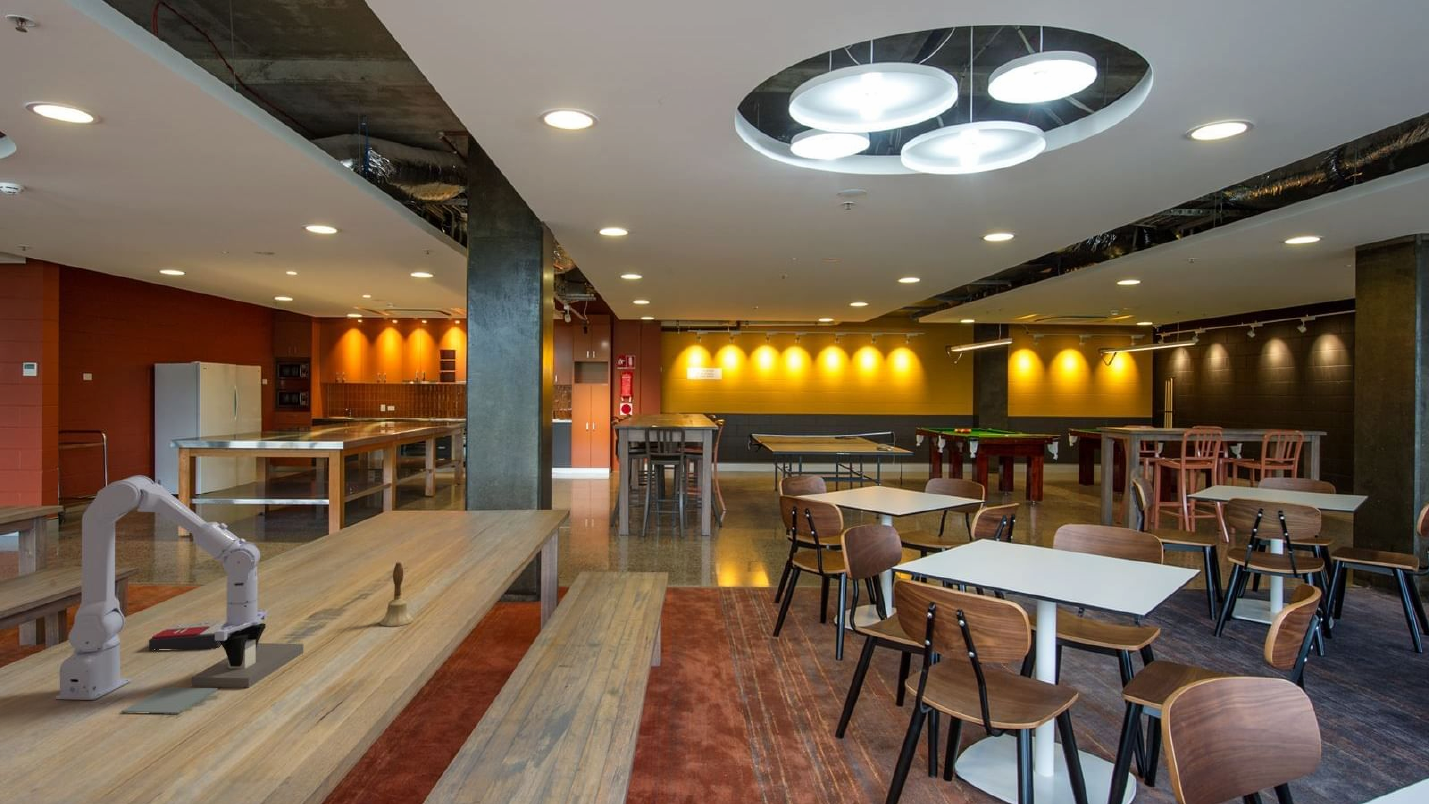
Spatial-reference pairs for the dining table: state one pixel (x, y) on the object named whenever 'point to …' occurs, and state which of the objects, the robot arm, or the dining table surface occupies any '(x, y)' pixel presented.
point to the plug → (247, 655)
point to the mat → (170, 700)
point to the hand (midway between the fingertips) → (242, 662)
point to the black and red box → (188, 636)
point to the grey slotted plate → (266, 663)
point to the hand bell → (397, 603)
